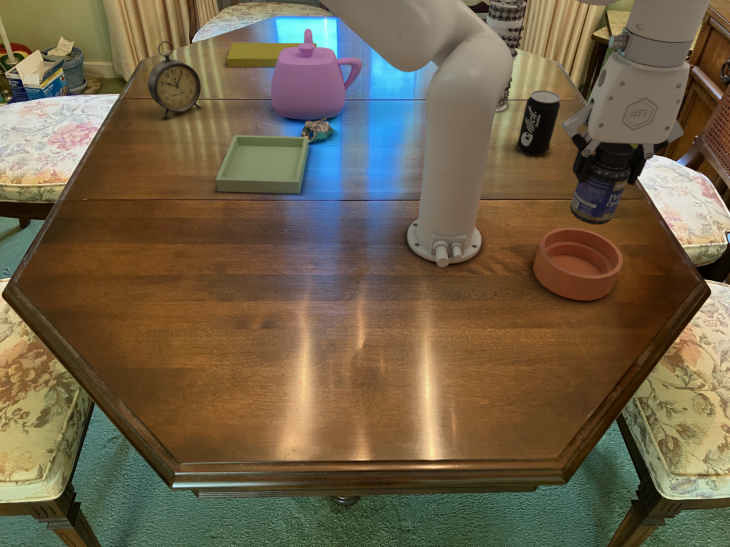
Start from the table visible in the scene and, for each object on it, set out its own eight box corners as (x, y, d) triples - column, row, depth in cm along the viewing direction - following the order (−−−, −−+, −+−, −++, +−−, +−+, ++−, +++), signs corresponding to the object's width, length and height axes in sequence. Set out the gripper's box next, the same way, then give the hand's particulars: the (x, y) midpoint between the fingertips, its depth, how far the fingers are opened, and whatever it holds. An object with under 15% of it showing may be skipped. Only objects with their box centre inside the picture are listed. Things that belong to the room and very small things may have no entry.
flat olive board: (227, 66, 150) (316, 66, 151) (226, 58, 149) (315, 58, 150) (233, 50, 159) (316, 50, 160) (232, 42, 158) (316, 43, 159)
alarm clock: (163, 123, 125) (145, 50, 114) (152, 114, 128) (134, 43, 117) (206, 109, 130) (193, 39, 119) (195, 101, 133) (181, 32, 122)
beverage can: (548, 158, 116) (563, 104, 108) (516, 154, 117) (529, 101, 109) (547, 143, 121) (561, 91, 113) (516, 140, 122) (528, 87, 114)
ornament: (319, 125, 125) (319, 110, 123) (340, 136, 122) (340, 120, 119) (292, 136, 121) (291, 121, 119) (312, 148, 118) (312, 132, 115)
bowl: (623, 303, 84) (634, 279, 80) (542, 301, 84) (550, 276, 81) (599, 251, 93) (608, 228, 90) (525, 249, 93) (532, 226, 90)
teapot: (362, 125, 126) (363, 59, 116) (269, 125, 125) (262, 58, 115) (359, 84, 143) (360, 24, 133) (278, 84, 142) (272, 23, 132)
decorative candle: (506, 97, 139) (528, -11, 122) (510, 113, 132) (533, 1, 115) (469, 95, 139) (486, -13, 123) (471, 111, 132) (489, -1, 116)
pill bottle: (605, 231, 78) (634, 162, 70) (563, 216, 80) (586, 148, 72) (616, 210, 82) (644, 143, 74) (575, 196, 84) (598, 130, 76)
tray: (299, 193, 104) (298, 182, 103) (217, 191, 104) (215, 179, 103) (308, 147, 118) (308, 136, 116) (235, 145, 118) (234, 134, 116)
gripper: (589, 56, 62) (547, 190, 74) (742, 63, 62) (675, 196, 74) (572, 33, 67) (536, 162, 79) (712, 39, 68) (655, 167, 80)
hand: (603, 177), depth 77 cm, fingers closed on pill bottle, 6 cm apart
